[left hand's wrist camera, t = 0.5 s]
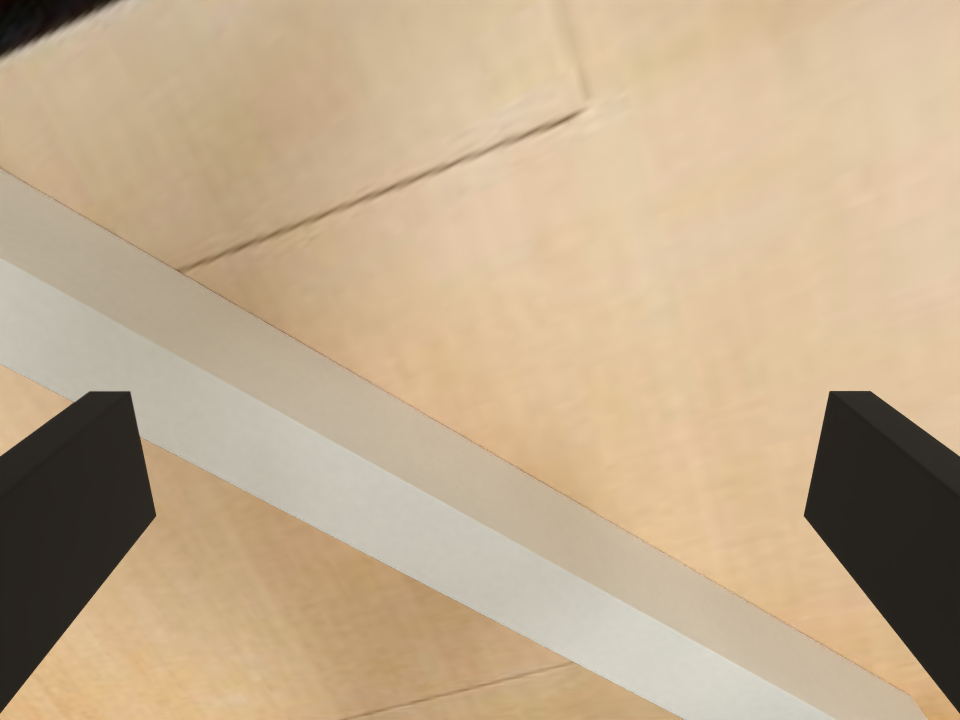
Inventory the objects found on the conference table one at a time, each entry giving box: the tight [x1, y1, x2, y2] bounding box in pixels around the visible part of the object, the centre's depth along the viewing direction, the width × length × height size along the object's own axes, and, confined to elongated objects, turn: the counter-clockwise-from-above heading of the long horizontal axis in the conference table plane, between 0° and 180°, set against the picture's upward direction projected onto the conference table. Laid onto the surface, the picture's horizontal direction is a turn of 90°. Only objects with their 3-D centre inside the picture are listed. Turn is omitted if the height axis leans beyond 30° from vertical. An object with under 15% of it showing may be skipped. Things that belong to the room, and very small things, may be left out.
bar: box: [0, 169, 928, 720], centre depth 40 cm, size 71×5×8 cm, turn 57°
